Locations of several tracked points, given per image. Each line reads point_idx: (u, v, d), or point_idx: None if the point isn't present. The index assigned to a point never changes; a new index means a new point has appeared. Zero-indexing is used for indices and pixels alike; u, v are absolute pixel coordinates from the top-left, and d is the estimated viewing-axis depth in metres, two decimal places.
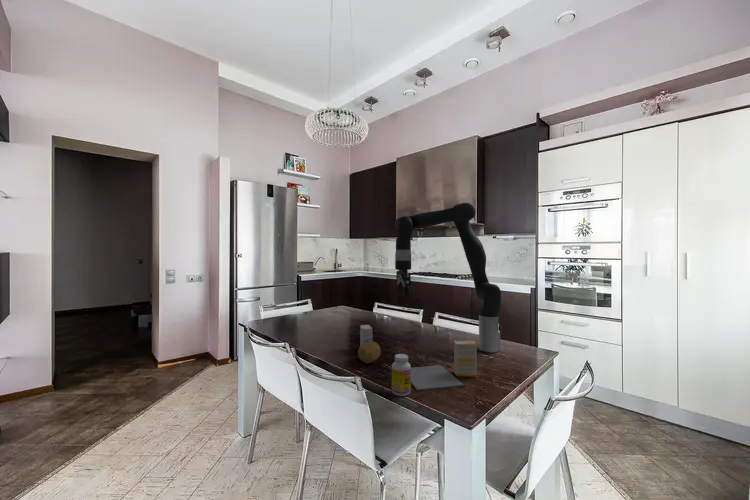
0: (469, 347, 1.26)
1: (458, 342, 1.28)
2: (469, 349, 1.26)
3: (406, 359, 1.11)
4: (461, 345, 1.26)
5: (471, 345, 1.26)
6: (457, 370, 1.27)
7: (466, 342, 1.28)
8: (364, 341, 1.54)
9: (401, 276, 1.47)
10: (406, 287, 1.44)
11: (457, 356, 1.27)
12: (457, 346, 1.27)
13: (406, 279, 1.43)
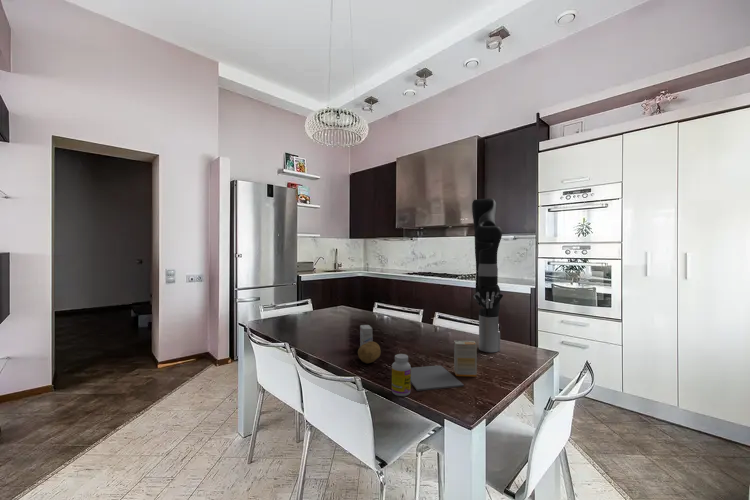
0: (469, 347, 1.26)
1: (458, 342, 1.28)
2: (469, 349, 1.26)
3: (406, 359, 1.11)
4: (461, 345, 1.26)
5: (471, 345, 1.26)
6: (457, 370, 1.27)
7: (466, 342, 1.28)
8: (364, 341, 1.54)
9: (493, 295, 1.30)
10: None
11: (457, 356, 1.27)
12: (457, 346, 1.27)
13: None
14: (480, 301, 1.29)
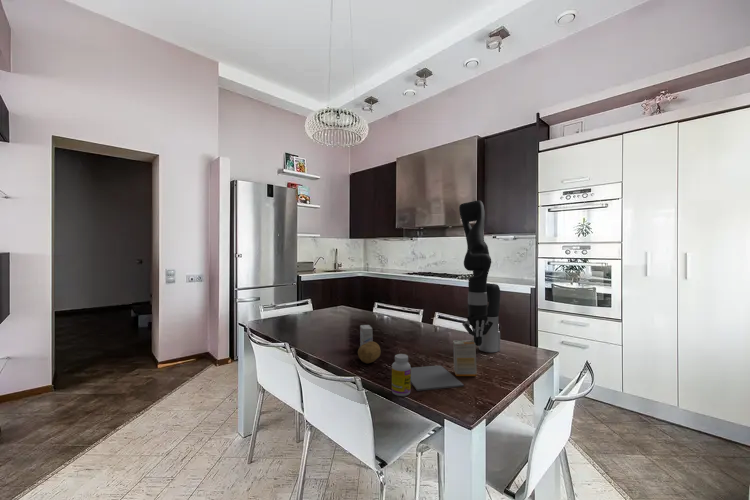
0: (468, 347, 1.26)
1: (457, 342, 1.28)
2: (468, 349, 1.26)
3: (406, 359, 1.11)
4: (460, 345, 1.26)
5: (470, 345, 1.26)
6: (457, 370, 1.27)
7: (465, 342, 1.28)
8: (364, 341, 1.54)
9: (483, 324, 1.28)
10: None
11: (456, 356, 1.27)
12: (456, 346, 1.27)
13: None
14: (470, 330, 1.28)
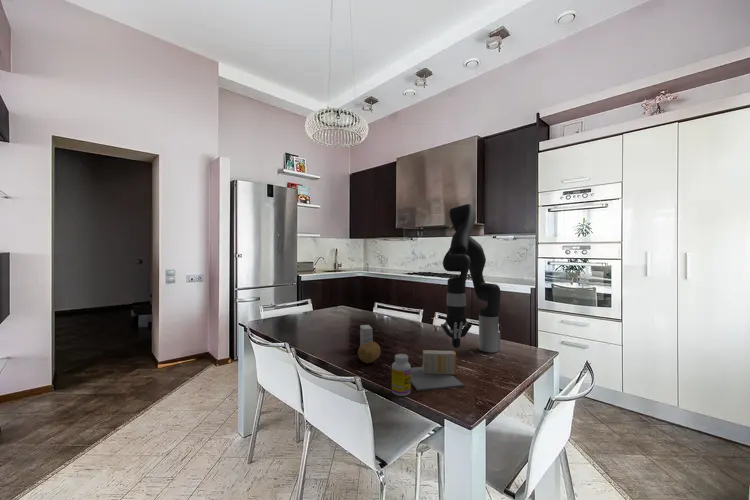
0: (427, 360, 1.27)
1: (423, 368, 1.29)
2: (429, 360, 1.27)
3: (406, 359, 1.11)
4: (424, 368, 1.27)
5: (424, 358, 1.27)
6: (450, 372, 1.27)
7: (423, 360, 1.29)
8: (364, 341, 1.54)
9: (462, 325, 1.26)
10: (459, 338, 1.28)
11: (436, 372, 1.27)
12: (426, 371, 1.27)
13: None
14: (448, 331, 1.25)
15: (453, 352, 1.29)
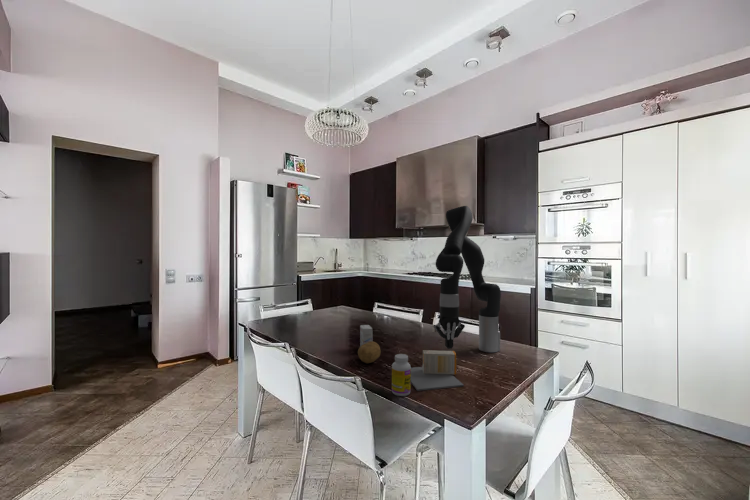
0: (427, 360, 1.27)
1: (423, 368, 1.29)
2: (429, 360, 1.27)
3: (406, 359, 1.11)
4: (424, 368, 1.27)
5: (425, 358, 1.27)
6: (450, 373, 1.27)
7: (423, 360, 1.29)
8: (364, 341, 1.54)
9: (455, 326, 1.26)
10: (452, 338, 1.27)
11: (436, 372, 1.27)
12: (426, 372, 1.27)
13: None
14: (441, 332, 1.25)
15: (453, 352, 1.29)
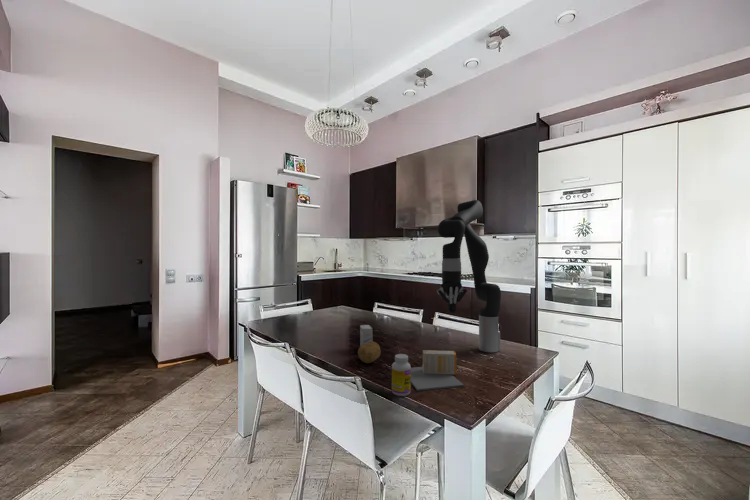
0: (427, 360, 1.27)
1: (423, 368, 1.29)
2: (429, 360, 1.27)
3: (406, 359, 1.11)
4: (424, 368, 1.27)
5: (425, 358, 1.27)
6: (450, 373, 1.27)
7: (423, 360, 1.29)
8: (364, 341, 1.54)
9: (457, 290, 1.28)
10: None
11: (436, 372, 1.27)
12: (426, 372, 1.27)
13: None
14: (443, 296, 1.27)
15: (453, 352, 1.29)
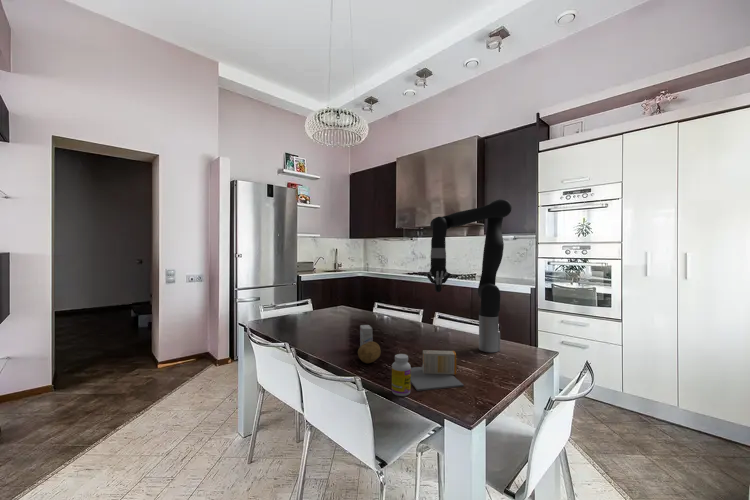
0: (427, 360, 1.27)
1: (423, 368, 1.29)
2: (429, 360, 1.27)
3: (406, 359, 1.11)
4: (424, 368, 1.27)
5: (425, 358, 1.27)
6: (450, 373, 1.27)
7: (423, 360, 1.29)
8: (364, 341, 1.54)
9: (442, 274, 1.58)
10: (441, 284, 1.59)
11: (436, 372, 1.27)
12: (426, 372, 1.27)
13: None
14: (431, 278, 1.57)
15: (453, 352, 1.29)
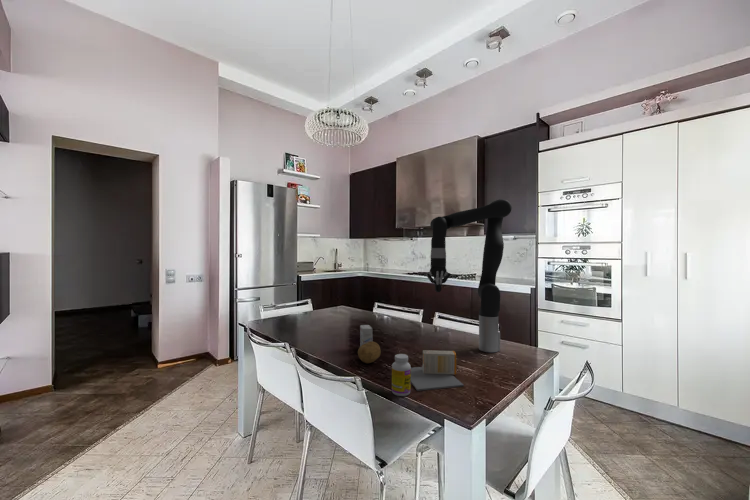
0: (427, 360, 1.27)
1: (423, 368, 1.29)
2: (429, 360, 1.27)
3: (406, 359, 1.11)
4: (424, 368, 1.27)
5: (425, 358, 1.27)
6: (450, 373, 1.27)
7: (423, 360, 1.29)
8: (364, 341, 1.54)
9: (442, 274, 1.58)
10: (441, 284, 1.59)
11: (436, 372, 1.27)
12: (426, 372, 1.27)
13: None
14: (431, 278, 1.57)
15: (453, 352, 1.29)
